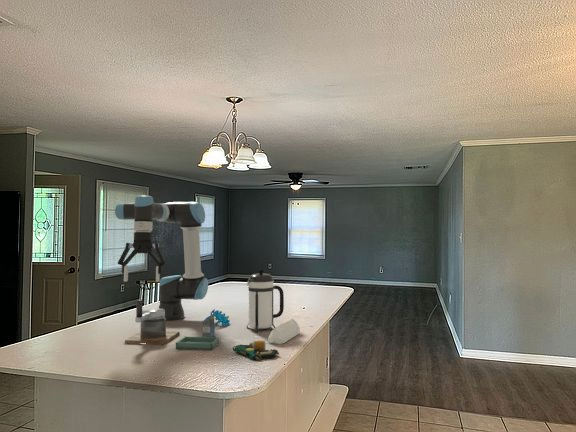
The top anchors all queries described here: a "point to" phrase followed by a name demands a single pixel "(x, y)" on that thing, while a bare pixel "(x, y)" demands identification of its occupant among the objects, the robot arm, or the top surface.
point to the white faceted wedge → (284, 332)
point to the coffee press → (262, 301)
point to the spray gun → (255, 350)
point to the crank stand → (153, 333)
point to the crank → (148, 313)
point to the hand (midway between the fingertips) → (141, 281)
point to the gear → (221, 318)
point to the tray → (197, 343)
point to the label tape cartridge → (209, 325)
